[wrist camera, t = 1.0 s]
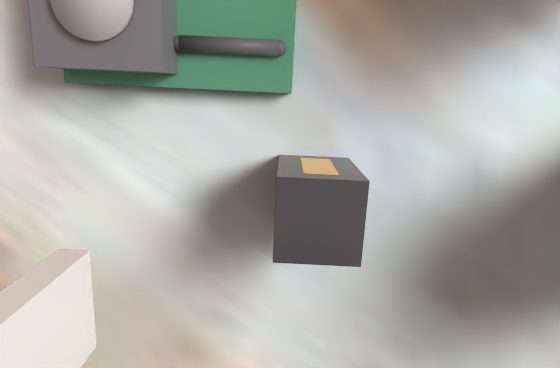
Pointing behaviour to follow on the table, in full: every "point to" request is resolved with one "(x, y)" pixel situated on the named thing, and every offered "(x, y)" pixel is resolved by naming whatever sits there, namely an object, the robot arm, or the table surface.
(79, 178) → the table surface
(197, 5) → the board
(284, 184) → the plug
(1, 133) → the table surface
